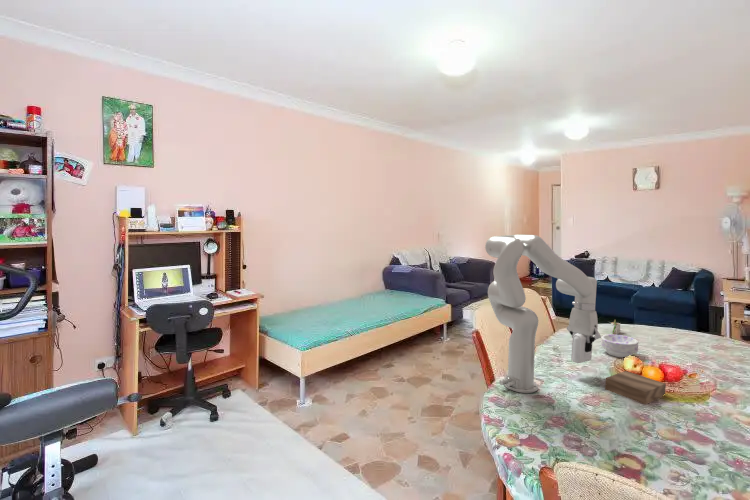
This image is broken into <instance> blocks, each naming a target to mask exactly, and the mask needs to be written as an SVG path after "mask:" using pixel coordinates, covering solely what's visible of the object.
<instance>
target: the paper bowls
mask: <svg viewBox="0 0 750 500" xmlns="http://www.w3.org/2000/svg"><path fill="white" fill-rule="evenodd" d="M600 340H601V341H600V347H601V348H602V349H604V350H605V352H606V354H608V355H610V356H612V357H617V358H623V357H626V356H629V355H632V356H633V354H637V353H638V352H639V340H637V339H636V338H634V337H631V336H627V335H622V334H617V335H616V334H615V335H614V334H613V333H609V334H603V335H602V336H601V338H600ZM626 358H627V357H626Z"/></svg>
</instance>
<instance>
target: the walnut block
mask: <svg viewBox="0 0 750 500" xmlns="http://www.w3.org/2000/svg"><path fill="white" fill-rule="evenodd" d="M666 387H667V386H666V383H665V382H662V381H658V380H656V379H652V378H649V377H646V376H643V375H640V374H638V373H633V372H630V371H627V370H625V371H622V372H619V373H615V374H613V375H611V376H607V377H605V385H604V388H605V389H604V390H606V391H608V392H611V393H613V394H616V395H619V396H621V397H624V398H626V399H629V400H631V401H634V402H637V403H639V404H642V405H648V404H650V403H651V402H652V403H653V402H655V401H657V400H659V399H660V398H663V397H664V396H663V395H664V394H665V395H666V390H667V389H666ZM662 396H663V397H662Z"/></svg>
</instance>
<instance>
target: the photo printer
mask: <svg viewBox="0 0 750 500" xmlns="http://www.w3.org/2000/svg"><path fill="white" fill-rule="evenodd" d="M571 341H572V342H571V344H572V345H571V361H572V362H573V363H576V364H582V363H585V362H588V361H591V360H592V355H593V349H592V350H591V351H590V352H585V343H586V342H587V339H586V335H582V334H579V333H577V334H575V335H574V336H573V338H572V340H571Z"/></svg>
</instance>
